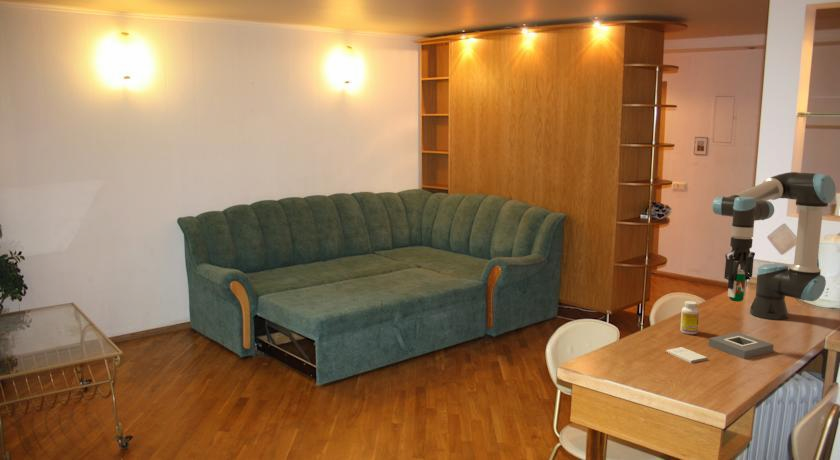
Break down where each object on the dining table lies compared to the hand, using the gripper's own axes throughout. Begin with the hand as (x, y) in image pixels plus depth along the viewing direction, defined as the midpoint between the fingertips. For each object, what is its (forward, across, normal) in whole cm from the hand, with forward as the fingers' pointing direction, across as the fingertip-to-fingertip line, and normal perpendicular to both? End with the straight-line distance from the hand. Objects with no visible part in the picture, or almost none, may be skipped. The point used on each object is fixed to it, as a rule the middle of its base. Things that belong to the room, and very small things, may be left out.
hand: (736, 295), depth 256 cm
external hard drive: (+21, +26, +2) cm, 33 cm away
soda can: (+2, 0, 0) cm, 2 cm away
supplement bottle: (+20, +4, -18) cm, 27 cm away
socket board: (+20, +2, +5) cm, 20 cm away
